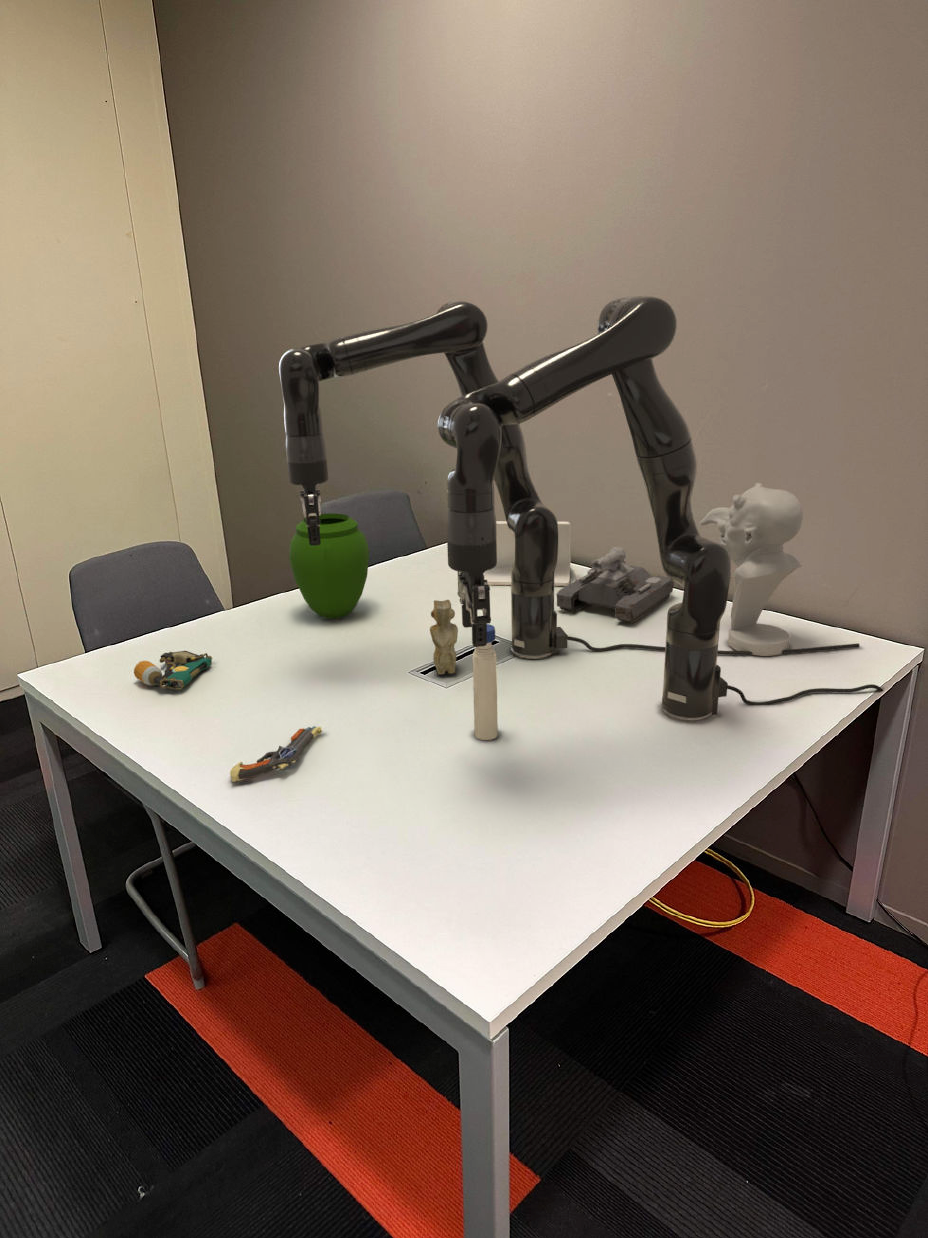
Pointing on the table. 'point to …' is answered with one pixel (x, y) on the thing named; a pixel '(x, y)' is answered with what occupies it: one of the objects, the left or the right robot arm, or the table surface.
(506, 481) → the left robot arm
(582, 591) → the toy
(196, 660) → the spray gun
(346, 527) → the vase
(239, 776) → the toy gun
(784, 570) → the bust sculpture
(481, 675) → the bottle
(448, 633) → the sculpture
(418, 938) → the table surface
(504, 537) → the tablet stand
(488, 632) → the cap
